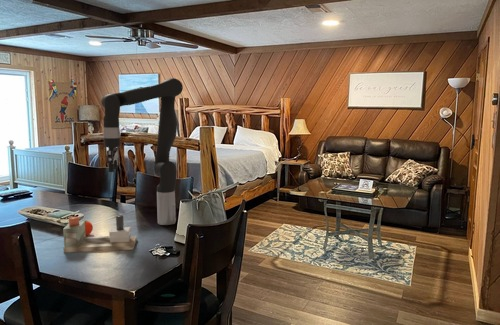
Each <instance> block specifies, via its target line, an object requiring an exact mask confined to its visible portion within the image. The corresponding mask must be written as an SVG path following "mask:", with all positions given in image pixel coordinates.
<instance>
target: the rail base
mask: <svg viewBox="0 0 500 325" xmlns="http://www.w3.org/2000/svg"><path fill="white" fill-rule="evenodd" d="M62 233H63V245H64V246H63V253H86V252H105V251H106V252H107V251H127V250H134V248H135V246H136V243H137V240H138V238H137V237H138V236H137V235H131V239H130V236H129V239H130V241H129V242H112V243H110V236H109V235H108V236H106V235H105V236H103V235H101V236H87V235H86V236H85V220H82V221H81V220H79V225H78V226H69V223H67V224H66V225H65V226H64V228H63V230H62Z"/></svg>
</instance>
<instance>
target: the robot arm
mask: <svg viewBox="0 0 500 325" xmlns="http://www.w3.org/2000/svg"><path fill="white" fill-rule="evenodd" d="M183 88H184V87H183V83H182V82H181V80H179V79H178V78H175V77H171V78H166V79H164V80H163V81H162V82H161V83H158V84H154V85H149V86H142V87H138V88H137V87H136V88H132V89H127V90H124V91H121V92H116V93H109V94H106V95H103V96H102V98H101V101H100V103H101V106H102V107H103V108H104V115H103V132H102V133H103V147H105V148H108V149H107V150H106V163H107V165H108V172H109V173H114V172H115V170H117V169H118V161H119V148H120V147H121V145H122V144H121V130H120V119H119V118H120V113H121V112H120V111H121V107H125V106H132V105H135V104H139V103H143V102H146V101H150V100H154V99H158V98H159V99H160V110H159V118H158V119H159V120H158V130H157V145H156V154H155V159H154V163H153V164H154V165H153V170H154V174H155V175H156V177H159V184H158V185H156V209H157V210H156V212H157V214H156V215H157V224H158V225H161V226H168V225H169V226H170V225H175V224H176V193H175V192H176V189H175V188H176V186H177V176H178V175H177V174H178V172H177V166H176V164H175V163H174V162H173V161H170V152H171V148H172V147H173V144H174V142H175V139H176V137H177V130H178V120H177V116H176V110H175V104H176V97H178V96H180V95H181V94H182V92H183Z"/></svg>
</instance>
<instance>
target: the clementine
mask: <svg viewBox="0 0 500 325" xmlns="http://www.w3.org/2000/svg"><path fill="white" fill-rule="evenodd" d="M84 221H85V236H86V237H87V236H89V235H90V234H91V233H92V232H93V230H94V229H93V228H94V226H93V223H91V222H90V221H88V220H84Z"/></svg>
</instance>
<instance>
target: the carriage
mask: <svg viewBox="0 0 500 325" xmlns="http://www.w3.org/2000/svg"><path fill="white" fill-rule="evenodd" d="M115 220H116V225H115V226H116V227H111V228H110V231H109V232H108V233H109V234H108V236H110V243H112V242H129V241H130V239H131V236H132V235H131V234H132V230H131V229H132V226H124V222H125V221H124V215H121V214H119V215H115ZM129 236H130V239H129Z"/></svg>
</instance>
